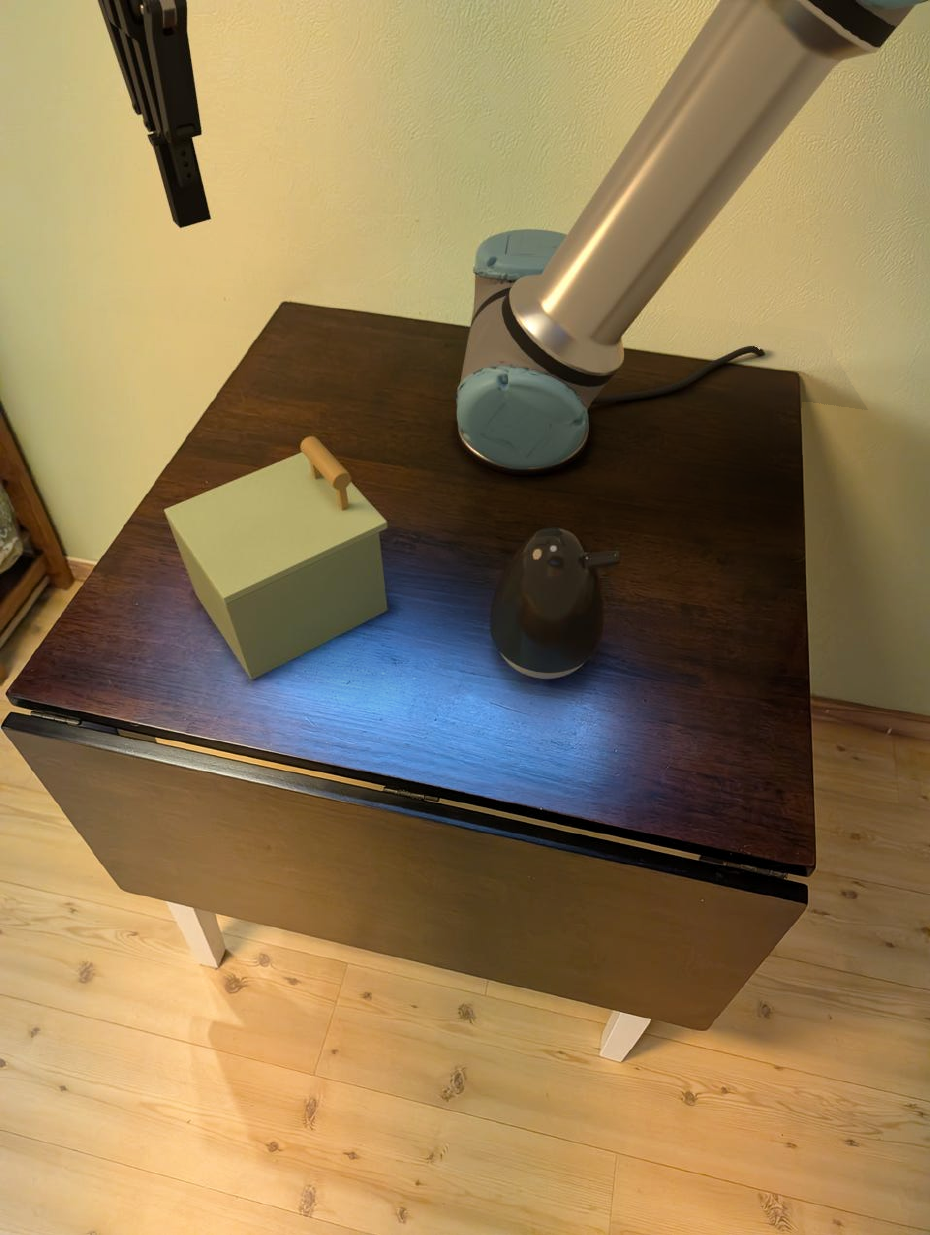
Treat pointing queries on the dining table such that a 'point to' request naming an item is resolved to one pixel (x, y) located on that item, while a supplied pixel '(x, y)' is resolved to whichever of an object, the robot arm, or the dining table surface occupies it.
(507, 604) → the pump dispenser
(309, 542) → the lid
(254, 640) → the chest
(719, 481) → the dining table surface
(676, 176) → the robot arm
